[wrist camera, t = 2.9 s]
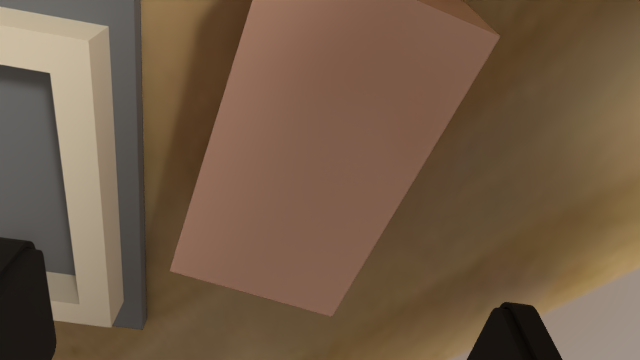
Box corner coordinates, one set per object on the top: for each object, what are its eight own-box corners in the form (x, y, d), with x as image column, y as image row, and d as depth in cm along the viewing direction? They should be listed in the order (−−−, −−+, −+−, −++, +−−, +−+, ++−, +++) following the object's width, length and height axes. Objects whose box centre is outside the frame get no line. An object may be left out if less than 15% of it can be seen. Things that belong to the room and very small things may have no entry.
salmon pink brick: (462, -1, 15) (500, 36, 12) (331, 244, 21) (332, 316, 18) (284, -79, 14) (271, -63, 11) (196, 202, 20) (169, 270, 16)
